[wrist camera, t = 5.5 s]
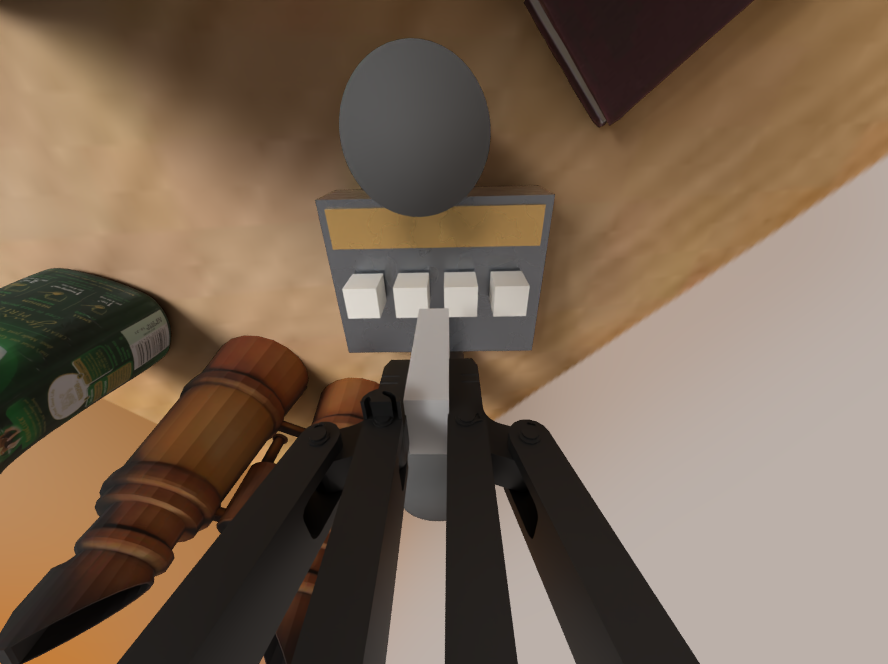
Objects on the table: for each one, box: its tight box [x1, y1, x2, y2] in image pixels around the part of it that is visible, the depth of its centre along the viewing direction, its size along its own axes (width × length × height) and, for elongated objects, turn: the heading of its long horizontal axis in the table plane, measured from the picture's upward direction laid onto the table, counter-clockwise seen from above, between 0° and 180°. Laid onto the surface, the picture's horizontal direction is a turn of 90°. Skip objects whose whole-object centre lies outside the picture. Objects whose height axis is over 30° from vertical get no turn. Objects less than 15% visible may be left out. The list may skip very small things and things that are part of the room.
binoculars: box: [0, 336, 380, 664], centre depth 23 cm, size 18×8×20 cm, turn 61°
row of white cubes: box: [342, 271, 530, 319], centre depth 20 cm, size 2×11×2 cm, turn 91°
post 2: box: [404, 351, 464, 521], centre depth 23 cm, size 4×4×14 cm
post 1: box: [339, 38, 491, 217], centre depth 14 cm, size 4×4×14 cm
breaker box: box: [315, 185, 555, 353], centre depth 23 cm, size 11×14×4 cm
